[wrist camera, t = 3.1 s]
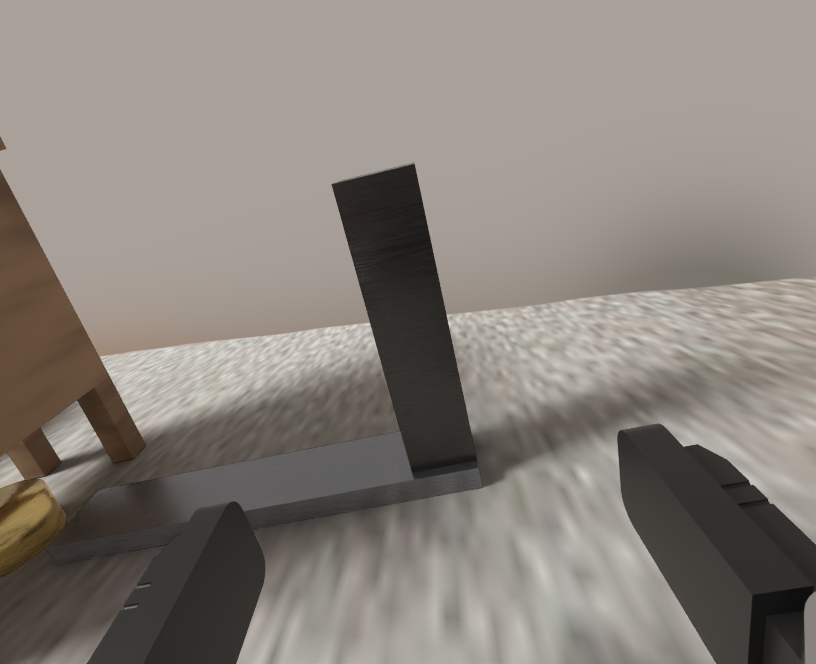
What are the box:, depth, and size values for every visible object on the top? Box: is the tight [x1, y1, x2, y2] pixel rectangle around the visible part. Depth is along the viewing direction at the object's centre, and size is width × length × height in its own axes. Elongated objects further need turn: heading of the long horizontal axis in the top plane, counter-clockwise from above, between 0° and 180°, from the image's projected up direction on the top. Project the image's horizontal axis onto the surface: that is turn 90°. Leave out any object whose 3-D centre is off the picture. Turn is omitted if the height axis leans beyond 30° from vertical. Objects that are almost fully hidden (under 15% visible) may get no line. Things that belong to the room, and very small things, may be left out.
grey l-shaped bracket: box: [45, 163, 483, 565], centre depth 20 cm, size 21×4×14 cm, turn 90°
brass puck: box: [0, 479, 67, 577], centre depth 24 cm, size 5×5×2 cm
